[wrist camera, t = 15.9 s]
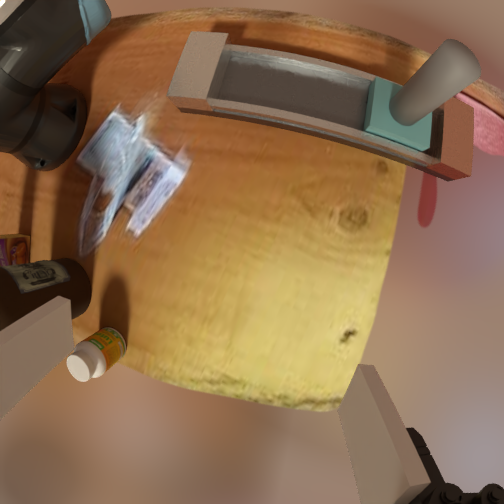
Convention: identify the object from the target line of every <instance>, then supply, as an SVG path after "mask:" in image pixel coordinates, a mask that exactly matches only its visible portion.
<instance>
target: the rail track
mask: <svg viewBox="0 0 504 504" xmlns="http://www.w3.org/2000/svg"><path fill="white" fill-rule="evenodd" d="M375 77H378V76H375V75H372V74H369V73H366V72H363V71H360V70H357V69H354V68H350V67H347V66H343V65H340V64H336V63H332V62H328V61H325V60H320V59H316V58H312V57H307V56H303V55H298V54H293V53H288V52H282V51H277V50H270V49H264V48H257V47H249V46H240V45H232V44H231V40H230V37H229V33H217V32H191V33H190V35H189V38H188V40H187V42H186V45H185V47H184V50H183V52H182V55H181V57H180V60H179V62H178V65H177V67H176V70H175V73H174V76H173V78H172V81H171V84H170V87H169V90H168V92H167V95H166V96H167V97H168V98H169V99H170V100H171V101H172V102H173V103H174V104H175V106H176V107H177V108H178V109H179V110H180V111H181V112H184V113H193V114H201V115H208V116H215V117H222V118H228V119H235V120H241V121H246V122H252V123H257V124H262V125H267V126H272V127H277V128H281V129H286V130H290V131H295V132H299V133H303V134H307V135H311V136H315V137H319V138H323V139H327V140H330V141H334V142H338V143H341V144H344V145H348V146H351V147H355V148H358V149H361V150H364V151H367V152H371V153H374V154H377V155H380V156H383V157H386V158H388V159H391V160H394V161H397V162H400V163H403V164H405V165H408V166H411V167H413V168H416V169H419V170H421V171H424V172H426V173H429V174H431V175H433V176H436V177H438V178H441V179H443V180H446V181H452V180H457V179H461V178H465V177H470V176H471V170H472V157H473V135H474V108H473V107H471V106H469V105H468V104H466V103H464V102H462V101H460V100H458V99H456V98H455V97H452V98H450V99H449V100H447V101H446V102H445V103H443V104H442V105H440V106H439V107H438V108H436V109H435V110H433V111H432V125H431V137H430V148H428V149H426V150H424V151H422V152H419V151H417V150H414V149H412V148H409V147H406V146H404V145H401V144H398V143H396V142H393V141H390V140H387V139H384V138H382V137H379V136H376V135H373V134H370V133H367V132H363V129H364V122H365V116H366V109H367V102H368V94H369V86H370V85H371V83H372V82H373V80H374V79H375ZM379 78H381V77H379ZM382 79H384V78H382ZM385 80H387V79H385ZM387 81H389V80H387ZM390 82H392V81H390ZM393 83H395V82H393ZM395 84H397V83H395ZM398 85H400V84H398ZM400 86H402V85H400Z"/></svg>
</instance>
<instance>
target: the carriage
mask: <svg viewBox="0 0 504 504" xmlns="http://www.w3.org/2000/svg"><path fill="white" fill-rule="evenodd" d="M480 75H481V67H480V64H479V62H478V60H477V58H476V57H475V55H474V54H473V52H472V51H471V50H470V49H469V48H468V47H467V46H465V45H464V44H463V43H461V42H459V41H457V40H453V39H447V40H445V41H444V42H443V44H441V46H440V47H439V48H438V49H437V50H436V51H435V52H434V53H433V54H432V55H431V57H430V58H429V59H428V60H427V61H426V62H425V63H424V64H423V65H422V66H421V67H420V69H419V70H418V71H417V72H416V73H415V74H414V75H413V76H412V77H411V78H410V79H409V81H408V82H407V83H406V84H405V85H404V86H400V85H398V84H395V83H393V82H390V81H387V80H385V79H382V78H379V77H375V79H374V80H373V82H372V83H371V85H370V86H369V94H368V102H367V109H366V116H365V122H364V129H363V132H367V133H370V134H373V135H376V136H379V137H382V138H384V139H387V140H390V141H393V142H396V143H398V144H401V145H404V146H406V147H409V148H412V149H414V150H417V151H419V152H422V151H424V150H426V149H428V148H430V137H431V125H432V111H433V110H435V109H436V108H438V107H439V106H440V105H442V104H443V103H445V102H446V101H447V100H449V99H450V98H452V97H453V96H454V95H456V94H457V93H459V92H460V91H462V90H463V89H464V88H466V87H467V86H469V85H470V84H471V83H473V82H474V81H476V80H477V79H478V78H479V77H480Z"/></svg>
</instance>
